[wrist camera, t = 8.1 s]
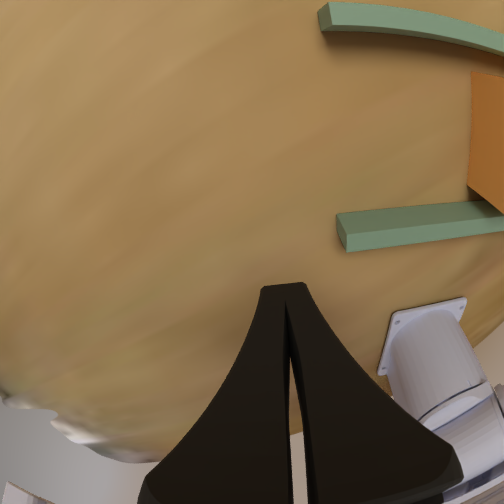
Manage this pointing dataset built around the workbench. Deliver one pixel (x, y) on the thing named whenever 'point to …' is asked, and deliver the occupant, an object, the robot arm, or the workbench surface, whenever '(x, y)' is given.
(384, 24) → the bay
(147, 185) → the workbench surface
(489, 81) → the orange square block
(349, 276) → the workbench surface
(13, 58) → the workbench surface
